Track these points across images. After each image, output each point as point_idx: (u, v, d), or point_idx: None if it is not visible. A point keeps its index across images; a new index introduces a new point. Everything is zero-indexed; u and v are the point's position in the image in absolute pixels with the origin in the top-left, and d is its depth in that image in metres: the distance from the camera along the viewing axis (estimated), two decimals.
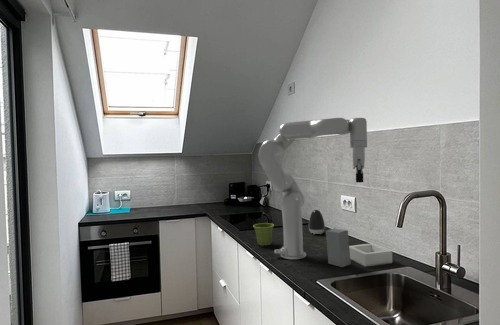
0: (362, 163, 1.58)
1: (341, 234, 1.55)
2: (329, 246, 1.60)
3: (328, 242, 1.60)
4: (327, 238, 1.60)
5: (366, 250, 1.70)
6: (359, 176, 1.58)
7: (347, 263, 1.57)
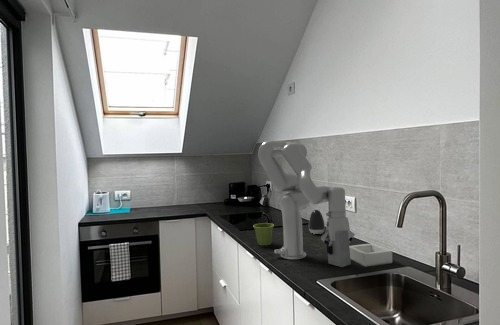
0: None
1: (341, 234, 1.55)
2: None
3: None
4: None
5: (366, 250, 1.70)
6: None
7: (347, 263, 1.57)
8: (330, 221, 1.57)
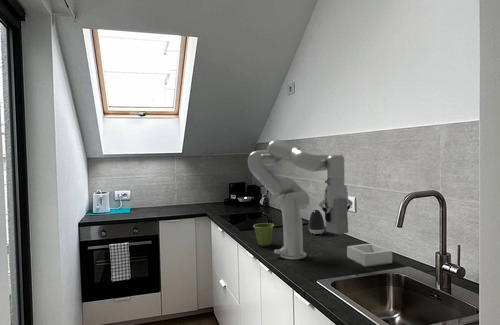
0: None
1: (339, 201, 1.55)
2: None
3: None
4: None
5: (366, 250, 1.70)
6: None
7: (344, 231, 1.57)
8: (329, 188, 1.56)
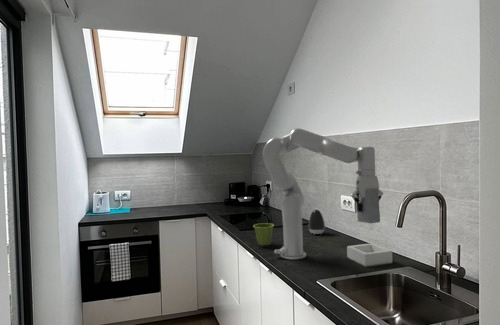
0: None
1: (371, 191, 1.59)
2: None
3: None
4: None
5: (366, 250, 1.70)
6: None
7: (377, 220, 1.61)
8: (360, 179, 1.60)
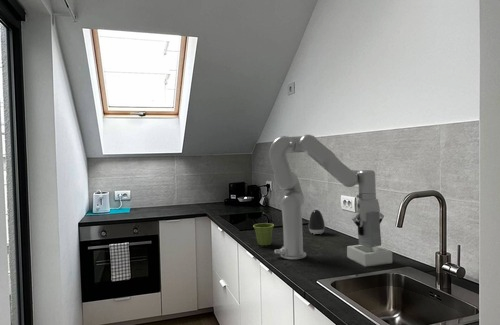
0: None
1: (372, 215, 1.59)
2: None
3: None
4: (358, 219, 1.65)
5: (366, 250, 1.70)
6: None
7: (378, 244, 1.61)
8: (361, 202, 1.61)
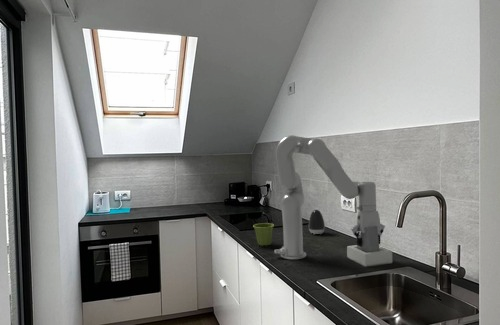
0: None
1: (370, 229, 1.59)
2: None
3: None
4: None
5: None
6: None
7: None
8: (361, 214, 1.61)
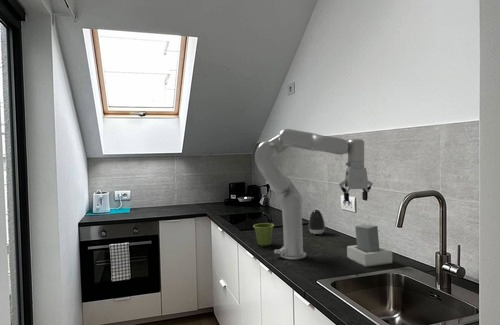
0: None
1: (370, 229, 1.59)
2: (359, 241, 1.64)
3: (358, 237, 1.64)
4: (357, 233, 1.65)
5: None
6: None
7: None
8: (349, 170, 1.65)
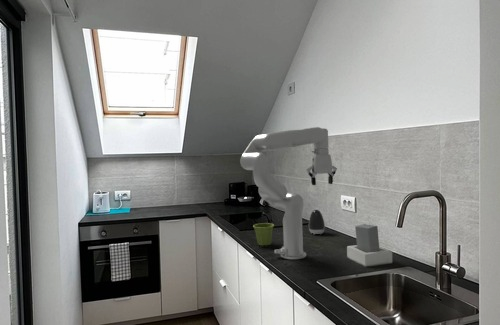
0: None
1: (370, 229, 1.59)
2: (359, 241, 1.64)
3: (358, 237, 1.64)
4: (357, 233, 1.65)
5: None
6: None
7: None
8: (315, 156, 1.82)
